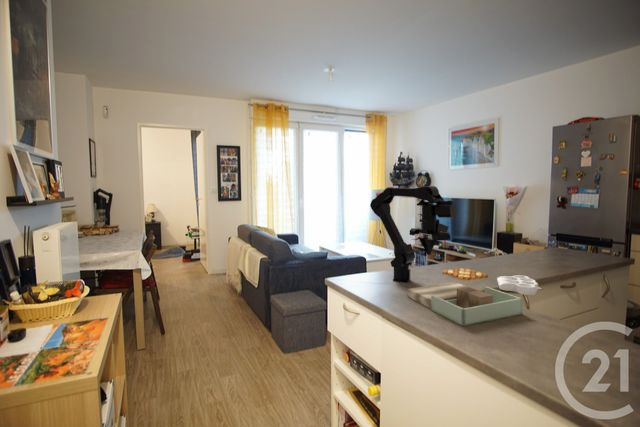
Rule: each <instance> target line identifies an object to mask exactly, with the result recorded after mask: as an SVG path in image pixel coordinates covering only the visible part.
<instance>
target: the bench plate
mask: <svg viewBox="0 0 640 427" xmlns="http://www.w3.org/2000/svg"><path fill="white" fill-rule="evenodd" d="M464 287H468V286H467V285H465V284H461V283H458V282H455V281H452V282H446V283H445V282H444V283H438V284H431V285H426V286H419V287H411V288H407V298H410V299H412V300H413V301H415V302H417V303H419V304H422V305H423V306H425V307H427V308H429V309H431V296H432V295H434V296H436V297H438V298H441V299H443V300H451V299H457V288H464Z"/></svg>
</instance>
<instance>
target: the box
mask: <svg viewBox="0 0 640 427" xmlns="http://www.w3.org/2000/svg"><path fill="white" fill-rule="evenodd" d="M483 288H484V291H483V292H485V293H487V294H490V295H493V303H490V304H485V305H480V306H474V307H469V308H464V309H463V308H461V307H459V306H457V299H451V300H443V299H441V298H438V297H436V296H434V295H432V296H431V308H430V310H431V311H432V312H434V313H436V314H438V315H439V316H442V317H443V318H446V319H448V320H449V321H452V322H453V323H455V324H458V325H459V326H461V327H467V326H473V325H477V324H481V323H482V324H483V323H485V322H490V321H495V320H500V319H506V318H509V317H514V316H519V315H523V297H519V296H515V295H513V294H510V293H508V292H503V291H502V290H501V291H500V290H498V289H495V288H492V287H489V286H484V287H483Z"/></svg>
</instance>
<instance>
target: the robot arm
mask: <svg viewBox="0 0 640 427" xmlns="http://www.w3.org/2000/svg"><path fill="white" fill-rule="evenodd" d="M395 197H407V198H408V197H409V198H414V199H417V200H420V201H418V203H416V206H419V207H420V206H421V218H420V219H419V222H420V223H421V227H413V228H412V227H411V228H410V230H409V236H413V237H414V236H415V235H419V237H417V239H419V242H420V243H421V245H422V247H423V249H424V251H425V253H426V255H427V256H430V255H432V252H433V249H434V248H435V247H434V246H435V244H436V243H437V242H438V241H439V242H440V241H441V242H442V241H450V240H451V234H450V232H449V228H450V226H448V225H446V224H442V223H441V222H440V220H439V219H437V218H442V219H443V218H444V219H445V218H446V219H455V218H456V217H457V213H458V209H457V204H455V200H444V198H443V196H442V195H441V194H440V191H439V189H438V187H437V186H435V185H426V186H425V185H424V186H418V187H413V188H412V187H393V186H390V187H389V186H388V187H386V188H384V190H383V191H382V192H380V193H379V194H377V195H376V196H375V197H374V198H372V200H371V201H370V205H369V206H370V209H371V210H372V212H373V213H374V214H375V215H376V216H377V217H379V219H380V221H381V222H382V224H383V226H384V229H385V230H386V233H387V235H388V237H389V239H390V241H391V243H392V245H393V254H394V258H393V259H392V260H391V261H390V266H391V267H392V268H393V278H392V281H394V282H404V283H408V282H409V281H410V280H411V276H412V275H411V269H410V266H412V263H413V262H414V261H415V258H416V254H415V253H416V251H415V250H414V249H413V245H412V244H411V243H408V244H407V243H406V242H405V241H404V238H403V237H402V235H401V232H400V230H399V229H398V227H397V225H396V223H395V221H394V219H393V217H392V214H391V206H390V204H391V203H392V202H393V201H394V198H395Z"/></svg>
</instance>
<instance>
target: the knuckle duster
mask: <svg viewBox="0 0 640 427" xmlns="http://www.w3.org/2000/svg"><path fill="white" fill-rule="evenodd" d="M496 281H497V284H498V288H499V289H500V290H501V291H508V292H515V293H517V294H520V295H525V296H535V295H536V294H537V293H538V291H539V290H542V287H540V286H539V283H538V282H537V281H536V280H535V279H532V278H530V277H529V276H527V275H522V274H521V275H519V274H517V275H512V276H510V275H509V276H508V275H503V276H501V275H500V276H498V277H497V278H496Z"/></svg>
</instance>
